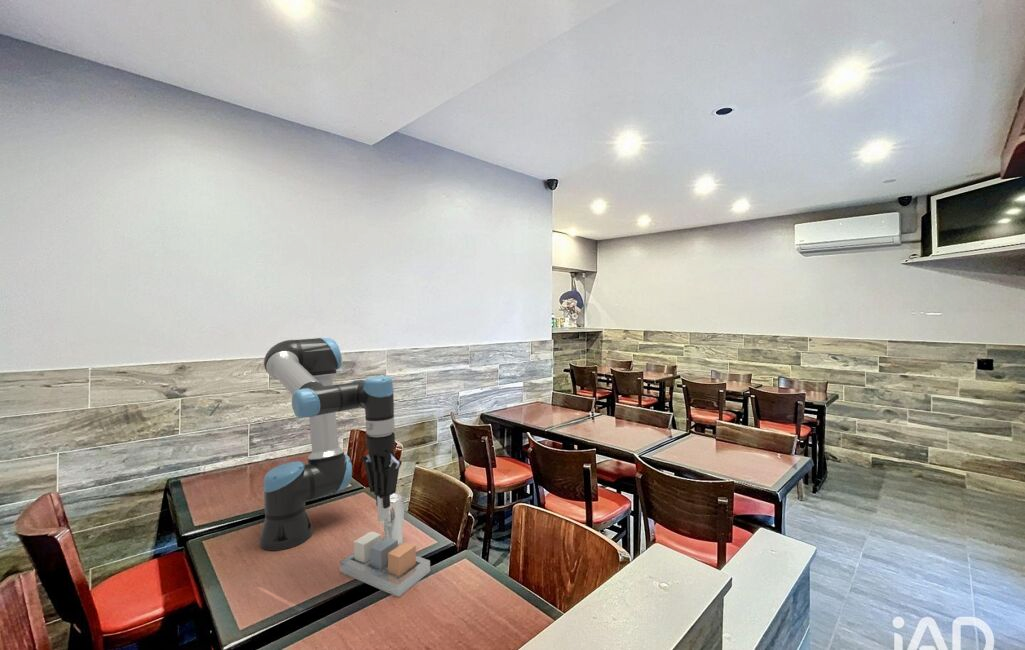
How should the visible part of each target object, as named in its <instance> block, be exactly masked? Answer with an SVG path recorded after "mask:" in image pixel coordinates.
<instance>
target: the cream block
mask: <svg viewBox="0 0 1025 650" xmlns="http://www.w3.org/2000/svg"><path fill="white" fill-rule="evenodd" d="M380 541H382V534H380V533H378V532H375V531H369V532H368V533H366V534H363V535H362V536H360V537H359V538H358V539H355V540H354V541H353V548H354V549H353V550H354V551H353V553H354V556H355V559H356V560H358V561H361V562H364V563H365V562H367V561H368V560H370V559H371V551H370V547H372V546H374V545H375V544H377V543H378V542H380Z"/></svg>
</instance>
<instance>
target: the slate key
mask: <svg viewBox="0 0 1025 650" xmlns="http://www.w3.org/2000/svg"><path fill="white" fill-rule="evenodd" d="M398 546H399V545H398V540H396V539H393V538H390V537H386V538H385V537H384V538H383V539H381V541H380V542H378V543H377V544H375V545H374V546H372V547H370V551H371V566H374V567H376V568H379V569H381V570H382V569H383V568H385V567H386V566H387V565H388V553H389V552H390V551H392V550H393V549H395V548H396V547H398Z"/></svg>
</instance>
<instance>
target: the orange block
mask: <svg viewBox="0 0 1025 650" xmlns="http://www.w3.org/2000/svg"><path fill="white" fill-rule="evenodd" d="M416 550H417V549H416V545H414V544H412V543H409V542H406V541H405V542H404V541H403V543H401V544H400V545H398V547H396V548H395V549H393V550H392V551H390V552H389V553H388V572H390V573H393V574H395V575H398V576H400V575H402V574H403V573H404V572H406V571H407V570H408V569H410V568H411V567H412V566H414V565H415V564H416V556H417V554H416V553H417V551H416Z"/></svg>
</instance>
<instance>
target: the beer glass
mask: <svg viewBox="0 0 1025 650" xmlns="http://www.w3.org/2000/svg"><path fill="white" fill-rule="evenodd" d="M404 518H405V503H404V495H403V494H401V493H398V492H395V493H394V494H392V495H390V507H389V518H387V519H385V520H383V521H381V523H382V527H383V532H384V539H385V538H386V537H390V538H393V539H396V540H398V546H399V545H401V544H402V543H404V536H403V526H404Z"/></svg>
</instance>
